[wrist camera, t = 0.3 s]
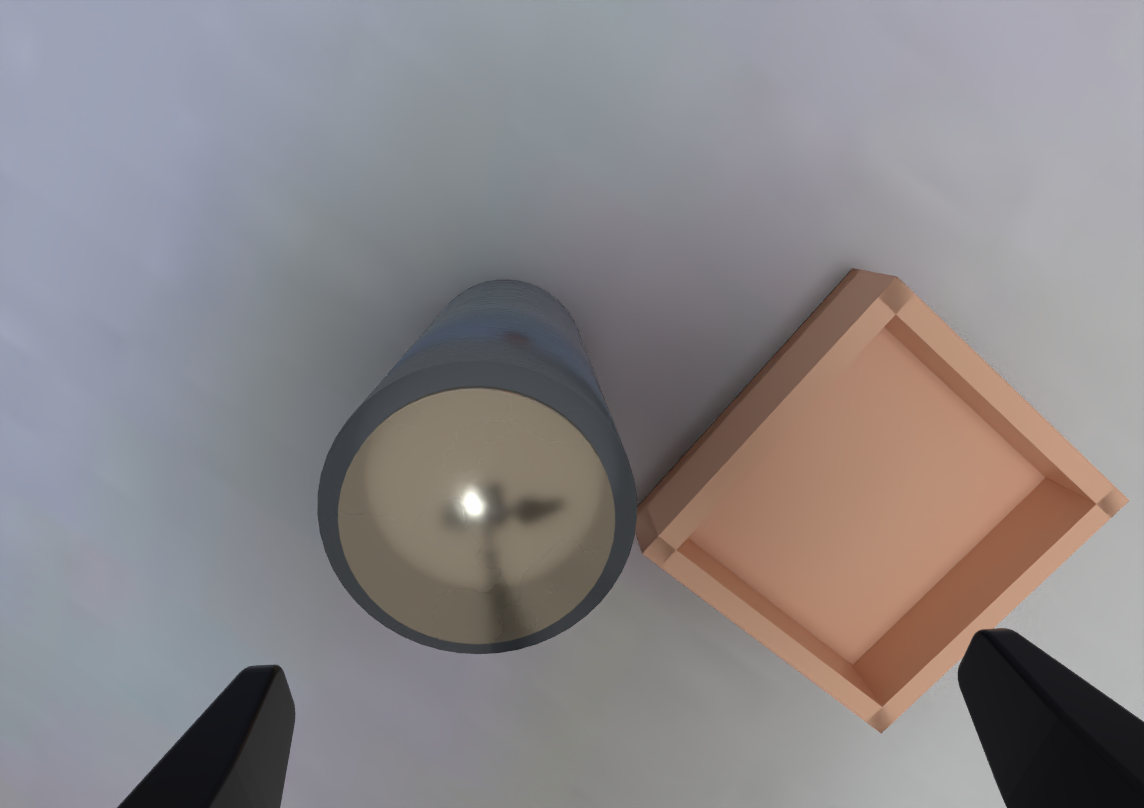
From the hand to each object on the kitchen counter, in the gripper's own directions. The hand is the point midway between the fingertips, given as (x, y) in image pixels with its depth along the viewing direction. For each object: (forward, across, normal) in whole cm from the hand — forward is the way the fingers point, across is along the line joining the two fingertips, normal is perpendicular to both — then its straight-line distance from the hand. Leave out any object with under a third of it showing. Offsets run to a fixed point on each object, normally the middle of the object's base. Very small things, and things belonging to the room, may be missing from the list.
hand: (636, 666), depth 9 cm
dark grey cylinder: (+16, +2, +4) cm, 16 cm away
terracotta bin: (+14, -10, +9) cm, 19 cm away
